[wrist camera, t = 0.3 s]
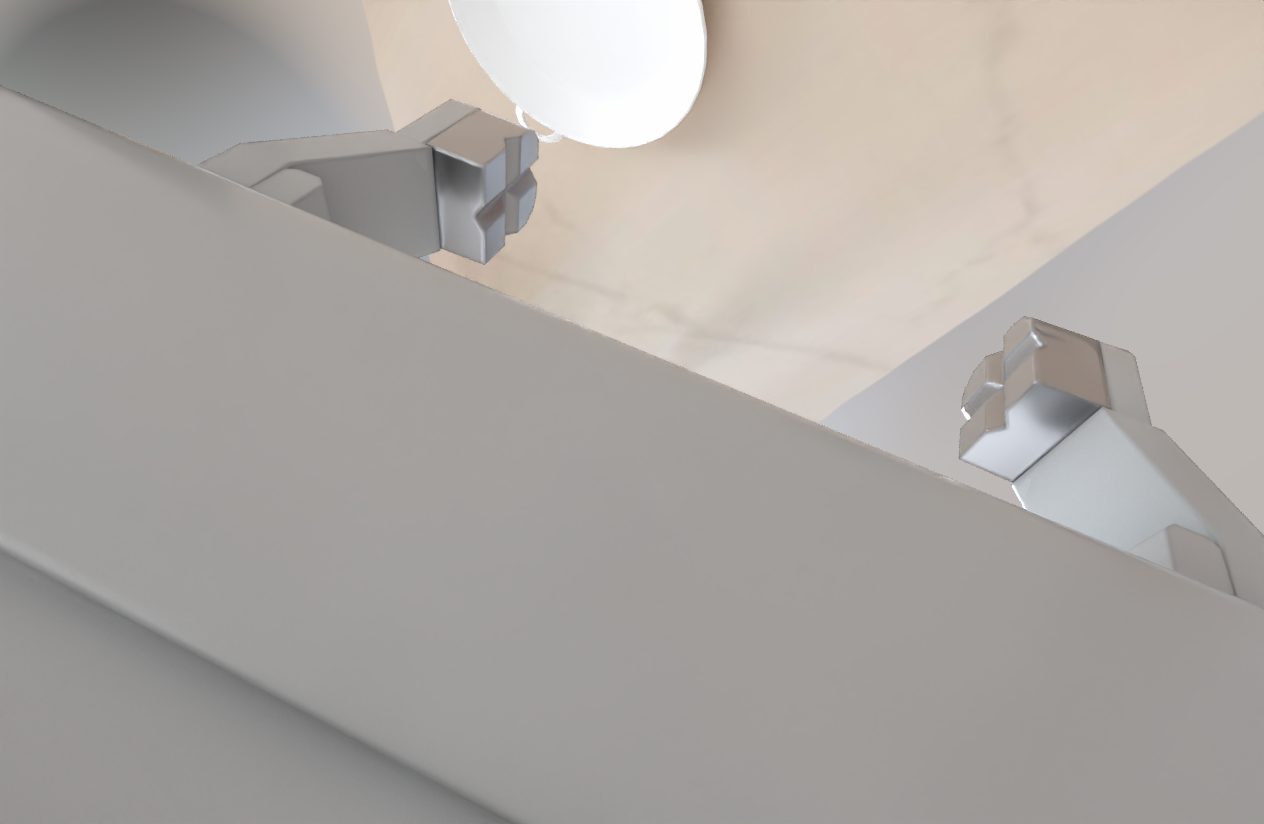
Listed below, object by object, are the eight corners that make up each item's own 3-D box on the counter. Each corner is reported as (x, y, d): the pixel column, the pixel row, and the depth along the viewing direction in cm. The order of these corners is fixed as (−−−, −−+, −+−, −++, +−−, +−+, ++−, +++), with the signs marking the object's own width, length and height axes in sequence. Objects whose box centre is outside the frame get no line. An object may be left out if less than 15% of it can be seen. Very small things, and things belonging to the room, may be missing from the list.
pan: (486, -309, 45) (458, -284, 43) (796, -59, 51) (781, -29, 49) (444, 48, 75) (426, 71, 74) (642, 178, 81) (630, 202, 80)
